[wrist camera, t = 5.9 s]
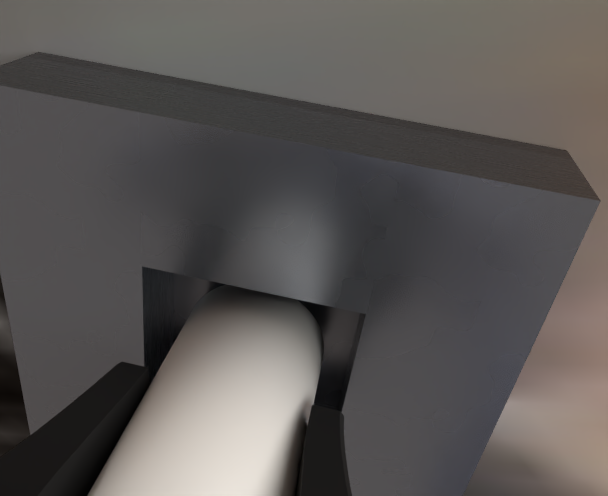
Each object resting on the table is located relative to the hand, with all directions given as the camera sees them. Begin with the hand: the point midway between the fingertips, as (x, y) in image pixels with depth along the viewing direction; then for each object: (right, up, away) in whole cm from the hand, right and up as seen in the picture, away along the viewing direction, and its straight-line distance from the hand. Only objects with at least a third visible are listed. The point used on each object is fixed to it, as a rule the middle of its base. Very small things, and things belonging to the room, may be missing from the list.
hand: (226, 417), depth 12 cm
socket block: (+1, +2, +3) cm, 4 cm away
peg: (0, +1, +2) cm, 3 cm away
